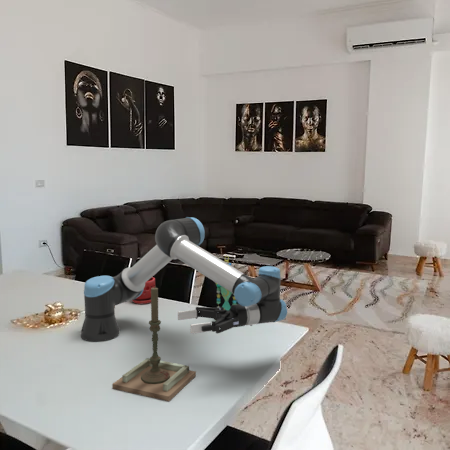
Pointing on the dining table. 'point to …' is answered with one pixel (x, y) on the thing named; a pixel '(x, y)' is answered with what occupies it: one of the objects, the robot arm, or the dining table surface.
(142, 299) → the plant pot
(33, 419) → the dining table surface
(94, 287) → the robot arm
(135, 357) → the dining table surface
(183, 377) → the railed board
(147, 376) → the candlestick holder
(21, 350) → the dining table surface
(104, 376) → the dining table surface
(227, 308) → the decorative hourglass
